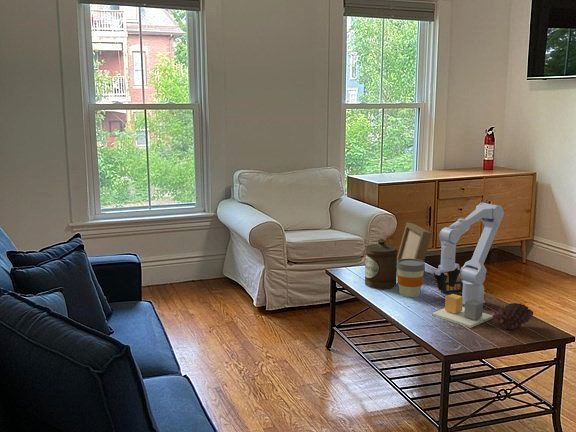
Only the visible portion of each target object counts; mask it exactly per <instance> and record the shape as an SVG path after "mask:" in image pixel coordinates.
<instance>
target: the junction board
mask: <svg viewBox="0 0 576 432" xmlns="http://www.w3.org/2000/svg"><path fill="white" fill-rule="evenodd" d="M483 310H484V303H483V302H480V301H476V300H469V301H467V302H465V305H464V306H463V307H462V311H460V312H458V313H456V314H455V313H452V312H448V311H445V307H444V308H442V309H439V310H436V311H434V312H431V316H432V317H434V318H435V317H436V318H439V319H442V320H444V321H448V322H451V323H455V324H457V325H461V326H463V327H467V328H469V329H472V328H473V327H476V326H478V325H481V324H483V323H485V322H488V321H489V320H492V319H494V315H491V314H488V313H485V312H483Z"/></svg>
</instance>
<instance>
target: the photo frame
mask: <svg viewBox="0 0 576 432" xmlns="http://www.w3.org/2000/svg"><path fill="white" fill-rule="evenodd" d="M432 234H433V233H432V232H430V231H428V230H426V229H425V228H423V227H421V226H419V225H417V224H415V223H411V222H407V221H406V224H405V226H404V230H403V235H402V238H401V242H400V244H399V249H398V251H397V261H398V260H400V259H407V258H410V259H418V260H422V261H424V262H425V258H426V255H427V252H428V248H429V245H430V241H431V238H432ZM425 272H426V269H425V270H424V273H423V274H424V275H425Z"/></svg>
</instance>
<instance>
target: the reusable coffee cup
mask: <svg viewBox="0 0 576 432" xmlns="http://www.w3.org/2000/svg"><path fill="white" fill-rule="evenodd" d="M424 270H425V271H426V263H425V260H424V261H422V260H418V259H410V258H407V259H400V260H398V261H397V278H396V282H397V284H398V290H399V291H398V292H399V295H400V296H401V297H402V296H403V297H405V298H417V297H420V296H421V295H420V294H421V289H422V286H423V283H424V277H425V272H424ZM423 273H424V274H423Z"/></svg>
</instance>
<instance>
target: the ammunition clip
mask: <svg viewBox="0 0 576 432" xmlns="http://www.w3.org/2000/svg"><path fill="white" fill-rule="evenodd" d="M463 266H464V265H463ZM463 266H461V267H460V266H459V269H457V270H461V268H462V267H463ZM444 275H446V276H448V272H445V273H444ZM462 292H463V282H462V279H460V276H459V275H458V277H457V280H456V283H455V286H454V287H451V286H449V277H447V279H446V282H445V288H444V291H441V290H440V293H441V294H443V295H444V294H455V293H462Z"/></svg>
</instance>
